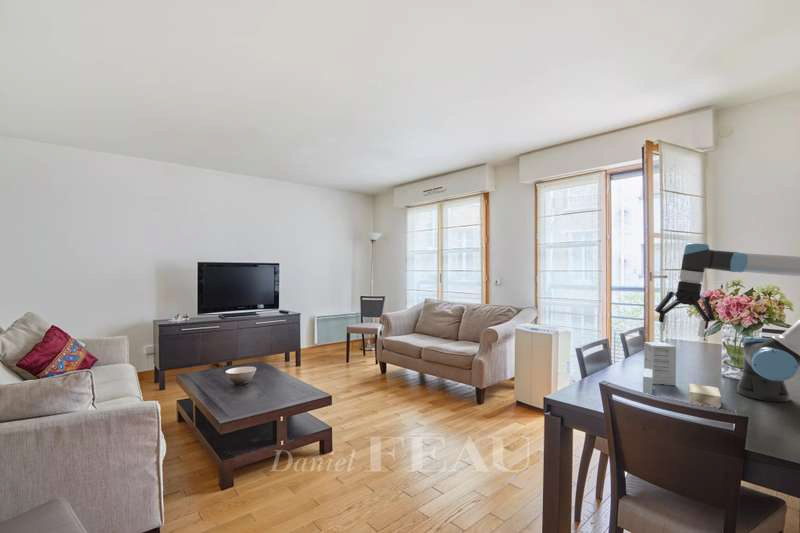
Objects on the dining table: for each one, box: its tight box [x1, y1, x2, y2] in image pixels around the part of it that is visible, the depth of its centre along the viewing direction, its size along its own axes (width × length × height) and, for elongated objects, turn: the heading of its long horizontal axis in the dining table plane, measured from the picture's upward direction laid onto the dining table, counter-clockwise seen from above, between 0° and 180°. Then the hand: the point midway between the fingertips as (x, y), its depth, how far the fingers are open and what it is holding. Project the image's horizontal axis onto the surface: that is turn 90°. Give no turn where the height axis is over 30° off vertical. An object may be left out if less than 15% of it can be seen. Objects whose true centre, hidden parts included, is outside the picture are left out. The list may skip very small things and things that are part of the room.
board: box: [642, 367, 653, 395], centre depth 158 cm, size 3×14×8 cm, turn 146°
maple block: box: [688, 383, 722, 408], centre depth 147 cm, size 9×12×5 cm
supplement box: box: [643, 341, 677, 386], centre depth 172 cm, size 10×9×17 cm
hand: (680, 333), depth 157 cm, fingers open, 13 cm apart
